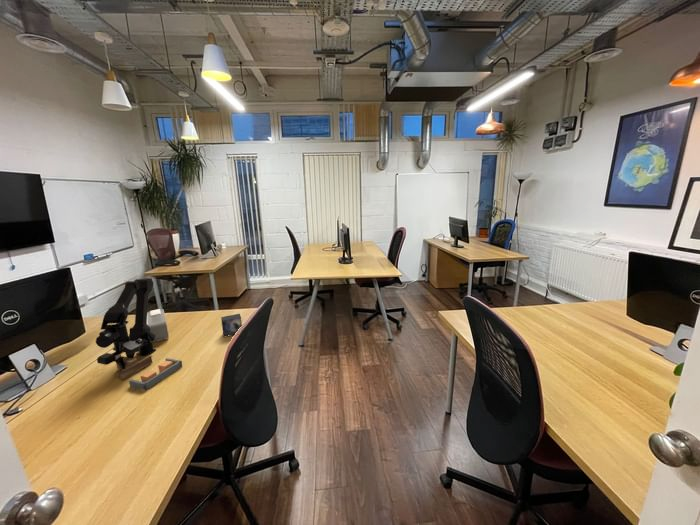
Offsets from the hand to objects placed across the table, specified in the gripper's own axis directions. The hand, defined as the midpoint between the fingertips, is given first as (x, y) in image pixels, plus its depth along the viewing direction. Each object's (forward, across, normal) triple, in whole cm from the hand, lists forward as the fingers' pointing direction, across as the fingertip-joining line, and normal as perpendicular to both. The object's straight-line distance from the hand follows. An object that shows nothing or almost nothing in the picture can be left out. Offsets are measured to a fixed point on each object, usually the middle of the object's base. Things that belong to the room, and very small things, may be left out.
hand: (127, 366), depth 133 cm
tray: (+1, 0, -19) cm, 19 cm away
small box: (+2, +44, -24) cm, 50 cm away
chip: (+2, -4, -19) cm, 20 cm away
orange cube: (+2, +4, -20) cm, 20 cm away
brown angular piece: (+1, 0, 0) cm, 1 cm away
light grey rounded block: (+2, +32, +20) cm, 38 cm away
